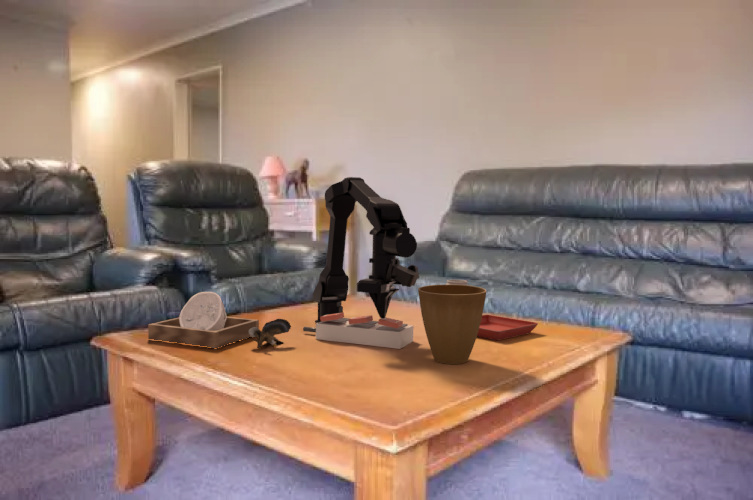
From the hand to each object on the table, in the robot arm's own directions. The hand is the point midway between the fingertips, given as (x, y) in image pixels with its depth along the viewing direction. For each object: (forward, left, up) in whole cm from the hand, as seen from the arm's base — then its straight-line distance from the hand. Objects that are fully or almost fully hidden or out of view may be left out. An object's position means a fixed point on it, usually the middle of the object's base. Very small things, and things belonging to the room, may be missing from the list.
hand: (382, 317), depth 144 cm
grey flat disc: (-43, -13, -7) cm, 45 cm away
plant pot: (+19, -7, -7) cm, 22 cm away
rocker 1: (-14, 0, -1) cm, 14 cm away
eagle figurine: (-23, -14, -7) cm, 28 cm away
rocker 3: (+2, 0, -1) cm, 2 cm away
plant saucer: (+21, +27, -7) cm, 35 cm away
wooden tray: (-43, -14, -7) cm, 46 cm away
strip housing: (-9, +2, -7) cm, 11 cm away
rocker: (-6, 0, -1) cm, 6 cm away
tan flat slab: (+7, +41, -7) cm, 43 cm away
